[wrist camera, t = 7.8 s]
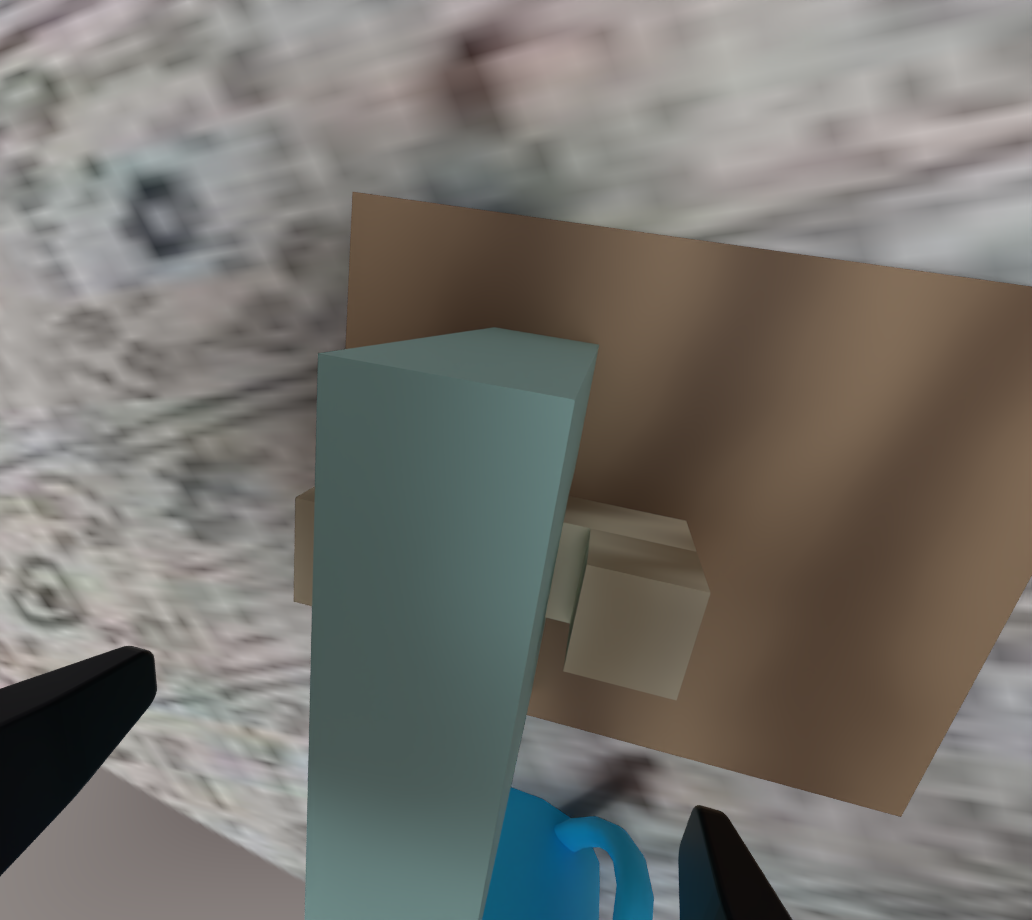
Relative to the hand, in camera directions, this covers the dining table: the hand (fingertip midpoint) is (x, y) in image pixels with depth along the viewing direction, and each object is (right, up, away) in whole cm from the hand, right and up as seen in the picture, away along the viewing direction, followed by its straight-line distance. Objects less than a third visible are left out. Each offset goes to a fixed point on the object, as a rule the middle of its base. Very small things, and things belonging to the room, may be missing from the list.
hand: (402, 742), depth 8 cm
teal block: (+2, +2, +8) cm, 9 cm away
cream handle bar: (+2, +2, +8) cm, 9 cm away
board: (+6, +3, +8) cm, 10 cm away
